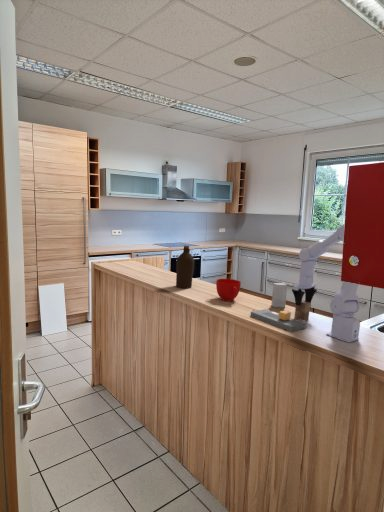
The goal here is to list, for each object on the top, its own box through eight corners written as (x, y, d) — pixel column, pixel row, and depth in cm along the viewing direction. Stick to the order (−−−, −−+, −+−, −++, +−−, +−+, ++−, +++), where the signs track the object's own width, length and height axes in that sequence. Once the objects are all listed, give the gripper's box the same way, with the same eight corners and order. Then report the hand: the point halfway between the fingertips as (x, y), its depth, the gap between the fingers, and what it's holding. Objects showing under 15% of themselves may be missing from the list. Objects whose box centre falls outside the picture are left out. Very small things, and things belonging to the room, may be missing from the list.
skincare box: (282, 305, 172) (284, 283, 170) (285, 308, 167) (287, 284, 166) (270, 305, 171) (273, 282, 169) (273, 307, 166) (276, 284, 165)
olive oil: (190, 289, 194) (193, 247, 191) (173, 287, 196) (175, 245, 193) (193, 286, 204) (196, 245, 201) (177, 284, 206) (179, 244, 203)
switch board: (305, 327, 138) (306, 323, 138) (291, 331, 132) (291, 326, 132) (265, 313, 155) (265, 309, 155) (250, 316, 149) (250, 311, 149)
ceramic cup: (222, 304, 165) (224, 285, 164) (211, 296, 181) (213, 278, 180) (246, 304, 169) (248, 285, 167) (233, 296, 185) (235, 278, 184)
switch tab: (290, 319, 141) (290, 312, 140) (284, 320, 138) (285, 313, 138) (284, 317, 143) (285, 310, 143) (278, 318, 141) (279, 311, 140)
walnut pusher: (308, 319, 150) (310, 302, 149) (303, 320, 148) (305, 303, 147) (298, 316, 154) (300, 299, 153) (294, 317, 152) (296, 300, 151)
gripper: (307, 272, 156) (304, 300, 158) (289, 274, 147) (285, 303, 149) (321, 275, 151) (317, 304, 152) (302, 277, 142) (299, 308, 144)
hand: (302, 304), depth 150 cm, fingers open, 7 cm apart
